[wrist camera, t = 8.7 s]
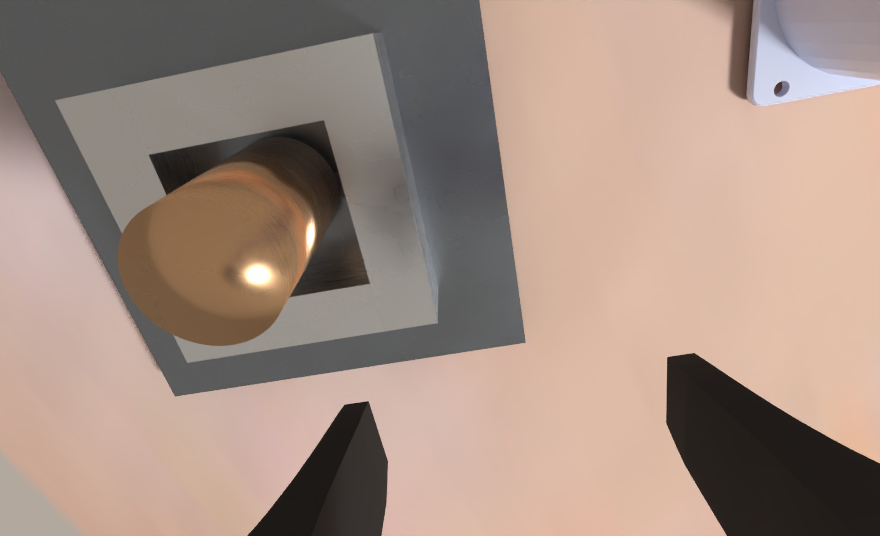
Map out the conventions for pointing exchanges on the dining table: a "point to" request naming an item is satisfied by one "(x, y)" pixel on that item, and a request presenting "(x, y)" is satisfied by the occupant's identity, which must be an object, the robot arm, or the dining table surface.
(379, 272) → the flange socket
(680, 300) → the dining table surface
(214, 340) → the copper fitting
